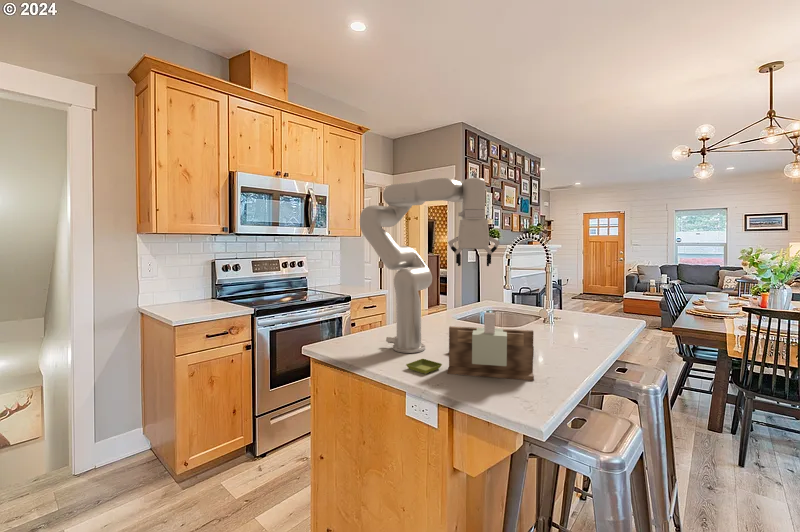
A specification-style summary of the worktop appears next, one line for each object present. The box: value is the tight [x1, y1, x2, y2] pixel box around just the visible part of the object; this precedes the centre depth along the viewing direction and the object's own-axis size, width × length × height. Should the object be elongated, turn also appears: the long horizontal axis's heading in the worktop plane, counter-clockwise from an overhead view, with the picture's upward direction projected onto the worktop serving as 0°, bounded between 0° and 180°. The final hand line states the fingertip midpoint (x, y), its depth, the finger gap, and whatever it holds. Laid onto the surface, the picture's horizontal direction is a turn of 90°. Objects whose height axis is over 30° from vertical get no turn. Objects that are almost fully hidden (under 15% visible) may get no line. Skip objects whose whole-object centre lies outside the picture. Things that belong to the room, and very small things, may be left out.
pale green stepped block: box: [472, 312, 507, 366], centre depth 121 cm, size 10×9×15 cm
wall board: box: [446, 325, 535, 381], centre depth 125 cm, size 26×6×14 cm, turn 76°
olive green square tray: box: [405, 358, 443, 375], centre depth 130 cm, size 9×9×2 cm
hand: (473, 265), depth 136 cm, fingers open, 9 cm apart
